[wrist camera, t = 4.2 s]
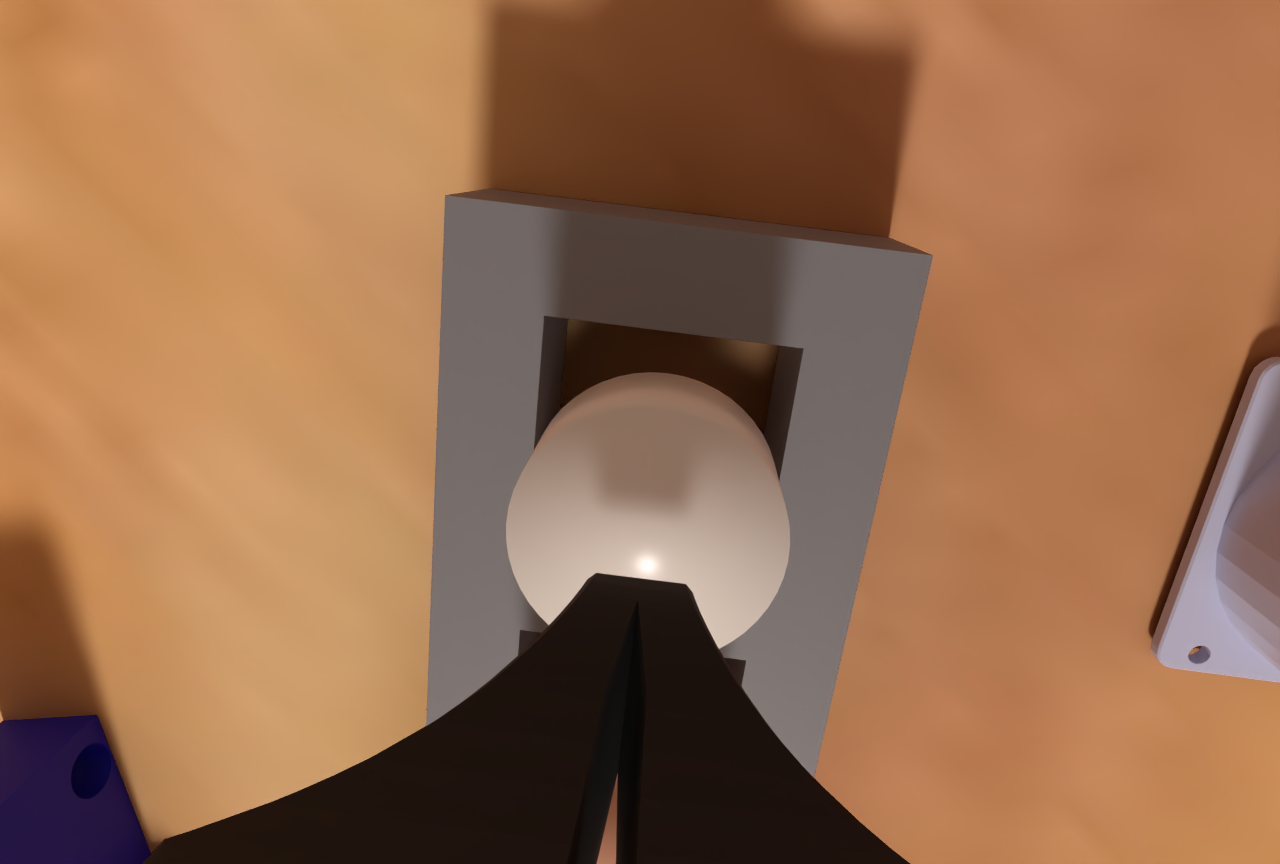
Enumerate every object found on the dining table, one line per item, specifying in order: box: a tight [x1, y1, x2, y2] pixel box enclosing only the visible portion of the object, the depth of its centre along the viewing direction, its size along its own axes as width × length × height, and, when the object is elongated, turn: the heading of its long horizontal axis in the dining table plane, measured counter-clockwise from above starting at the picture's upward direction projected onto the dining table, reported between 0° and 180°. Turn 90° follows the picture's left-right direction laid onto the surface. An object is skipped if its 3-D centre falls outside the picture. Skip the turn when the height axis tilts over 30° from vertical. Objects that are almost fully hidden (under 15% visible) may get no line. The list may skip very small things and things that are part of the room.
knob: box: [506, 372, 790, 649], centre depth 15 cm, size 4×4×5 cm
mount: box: [426, 189, 933, 777], centre depth 20 cm, size 9×23×4 cm, turn 174°
